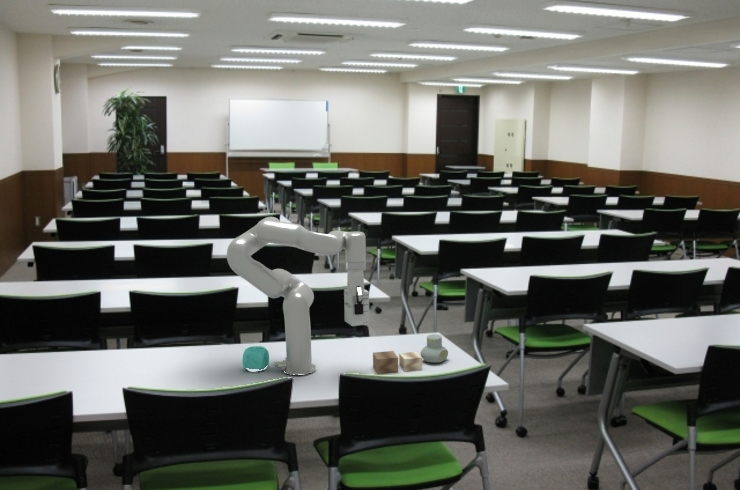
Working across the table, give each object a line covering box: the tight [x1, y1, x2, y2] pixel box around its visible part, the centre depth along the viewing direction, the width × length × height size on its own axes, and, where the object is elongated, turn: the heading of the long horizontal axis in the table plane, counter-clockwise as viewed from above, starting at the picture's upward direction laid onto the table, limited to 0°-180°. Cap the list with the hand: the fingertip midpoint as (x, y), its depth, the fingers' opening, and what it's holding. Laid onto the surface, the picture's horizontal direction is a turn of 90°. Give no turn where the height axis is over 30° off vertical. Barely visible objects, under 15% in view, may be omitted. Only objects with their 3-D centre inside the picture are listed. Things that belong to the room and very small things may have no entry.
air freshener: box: [420, 333, 449, 364], centre depth 286 cm, size 11×8×10 cm
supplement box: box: [343, 288, 370, 327], centre depth 271 cm, size 7×7×13 cm
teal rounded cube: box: [241, 345, 270, 370], centre depth 280 cm, size 8×8×8 cm
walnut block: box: [372, 350, 399, 375], centre depth 277 cm, size 8×8×6 cm
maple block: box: [398, 351, 423, 372], centre depth 279 cm, size 7×7×5 cm
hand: (356, 310), depth 271 cm, fingers closed on supplement box, 8 cm apart
